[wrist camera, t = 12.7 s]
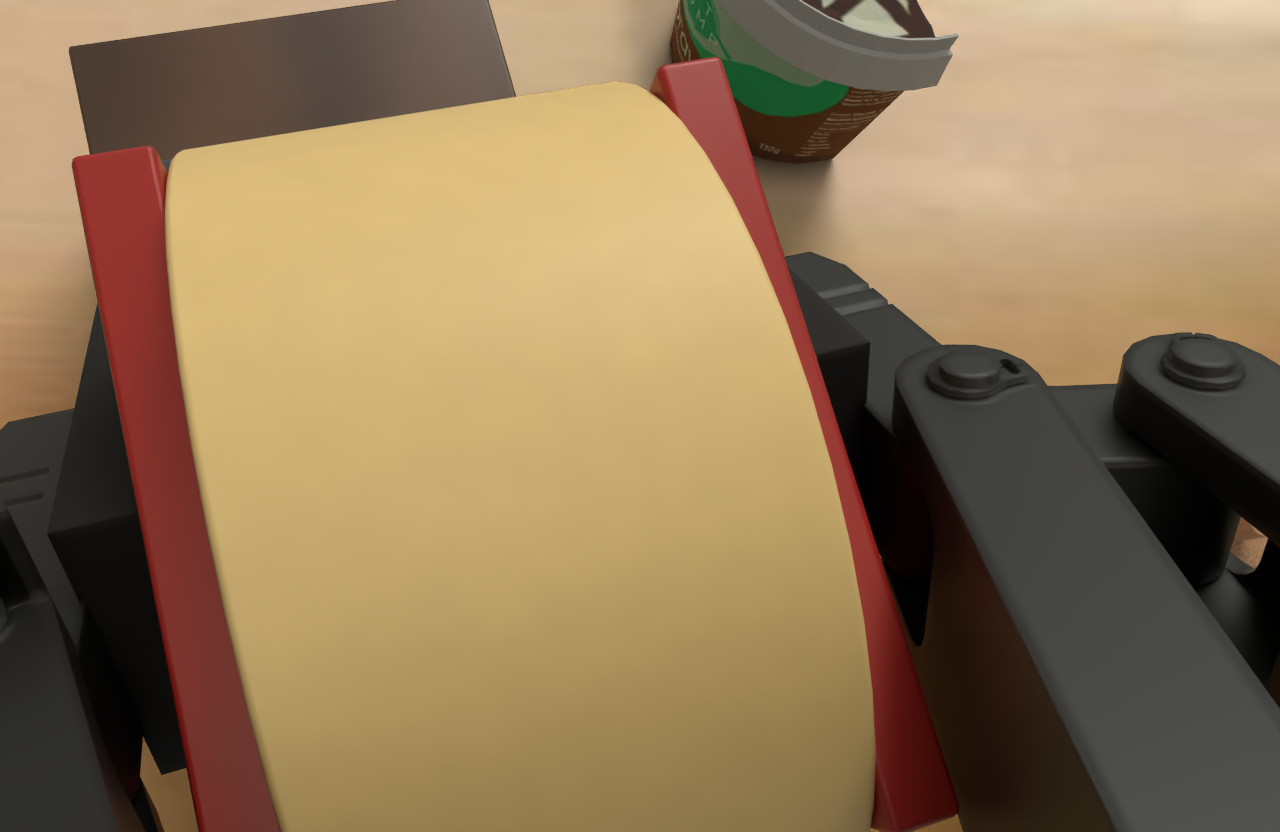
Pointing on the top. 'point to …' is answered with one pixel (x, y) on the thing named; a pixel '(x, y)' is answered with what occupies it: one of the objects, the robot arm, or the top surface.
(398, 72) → the shelf
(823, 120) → the food container
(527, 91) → the top surface
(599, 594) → the tape dispenser
